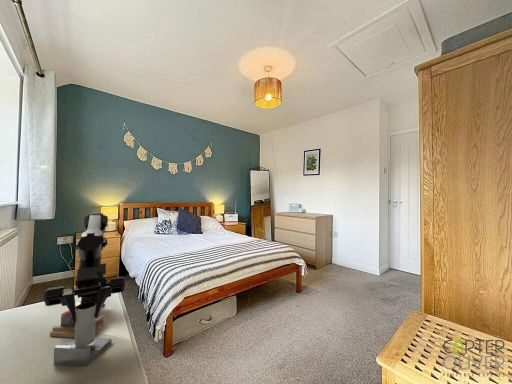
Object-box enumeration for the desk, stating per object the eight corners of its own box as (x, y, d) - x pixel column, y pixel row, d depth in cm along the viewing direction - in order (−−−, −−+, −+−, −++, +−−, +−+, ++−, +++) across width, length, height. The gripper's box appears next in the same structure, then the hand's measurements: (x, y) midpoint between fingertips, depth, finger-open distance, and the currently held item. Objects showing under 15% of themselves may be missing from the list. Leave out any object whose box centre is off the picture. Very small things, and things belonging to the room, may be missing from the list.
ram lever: (72, 320, 74) (72, 305, 74) (80, 321, 73) (81, 305, 74) (57, 329, 69) (58, 313, 69) (66, 330, 68) (67, 313, 69)
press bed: (82, 341, 66) (83, 327, 66) (111, 342, 65) (112, 328, 65) (53, 363, 57) (54, 347, 57) (86, 365, 56) (87, 349, 56)
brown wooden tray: (70, 323, 75) (70, 313, 75) (103, 324, 74) (104, 315, 74) (50, 336, 68) (50, 325, 68) (86, 337, 67) (87, 327, 67)
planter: (88, 347, 59) (89, 309, 59) (70, 348, 59) (71, 309, 59) (98, 336, 64) (99, 301, 64) (81, 337, 63) (83, 301, 63)
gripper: (46, 259, 60) (32, 319, 50) (125, 251, 70) (126, 299, 61) (51, 278, 66) (40, 335, 57) (123, 268, 76) (124, 315, 67)
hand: (85, 320), depth 60 cm, fingers closed on planter, 4 cm apart
